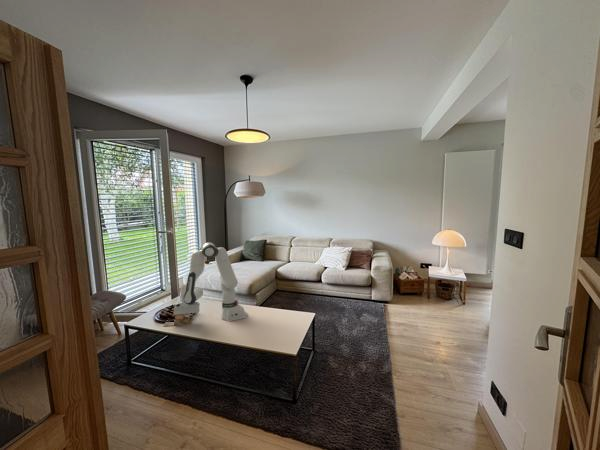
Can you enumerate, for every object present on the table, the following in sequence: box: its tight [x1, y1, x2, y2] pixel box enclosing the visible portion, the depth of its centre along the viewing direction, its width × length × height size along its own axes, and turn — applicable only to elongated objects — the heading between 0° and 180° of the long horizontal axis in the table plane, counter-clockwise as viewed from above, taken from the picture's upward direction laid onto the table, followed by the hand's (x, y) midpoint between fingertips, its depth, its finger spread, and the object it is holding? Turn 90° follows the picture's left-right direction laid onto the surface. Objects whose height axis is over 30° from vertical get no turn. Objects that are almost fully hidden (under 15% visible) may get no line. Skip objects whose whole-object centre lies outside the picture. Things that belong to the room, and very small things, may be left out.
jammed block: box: [174, 314, 185, 320], centre depth 212 cm, size 6×6×6 cm
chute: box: [163, 313, 194, 328], centre depth 212 cm, size 21×10×4 cm, turn 104°
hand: (187, 318), depth 213 cm, fingers closed
